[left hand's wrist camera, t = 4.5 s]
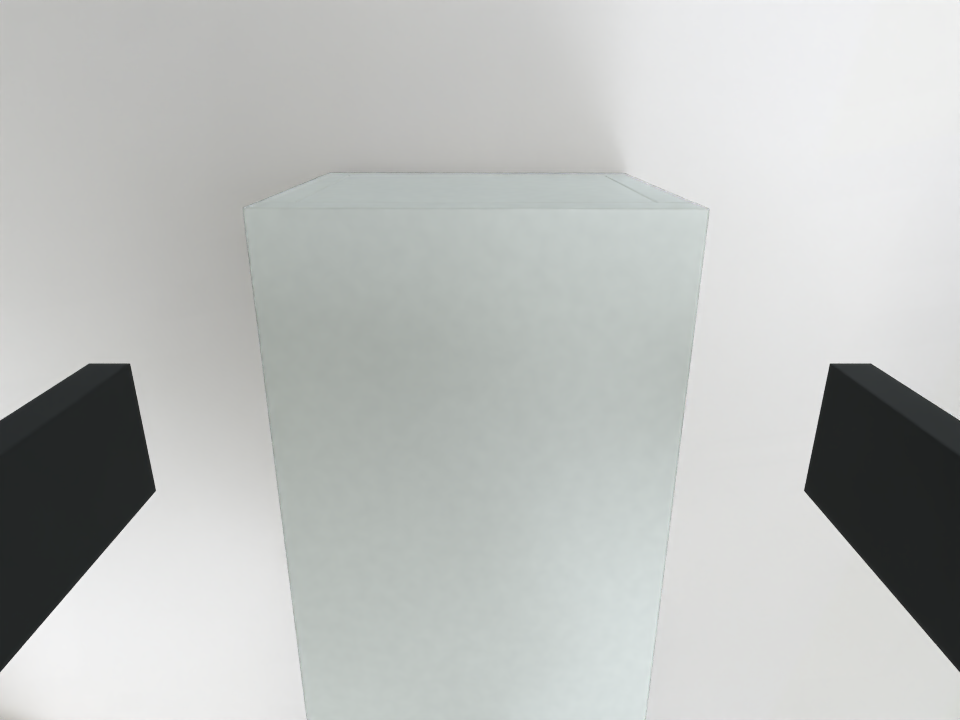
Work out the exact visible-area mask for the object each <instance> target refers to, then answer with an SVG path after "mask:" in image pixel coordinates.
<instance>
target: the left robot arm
mask: <svg viewBox="0 0 960 720" xmlns="http://www.w3.org/2000/svg"><path fill="white" fill-rule="evenodd" d="M155 491H156V489H155V484H154V479H153V474H152V469H151V464H150V459H149V454H148V450H147V445H146V440H145V435H144V430H143V425H142V420H141V415H140V410H139V405H138V400H137V396H136V391H135V386H134V381H133V376H132V371H131V366H130V364H88V365H86V366H85V367H83V368H82V369H80V370H78V371H77V372H75V373H74V374H72V375H71V376H69V377H68V378H66V379H64V380H63V381H61V382H60V383H58V384H57V385H55V386H53V387H52V388H50V389H49V390H47V391H46V392H44V393H43V394H41V395H39V396H38V397H36V398H35V399H33V400H32V401H30V402H28V403H27V404H25V405H24V406H22V407H21V408H19V409H18V410H16V411H14V412H13V413H11V414H10V415H8V416H7V417H5V418H4V419H2V420H0V672H1V671H2V669H3V668H4V667H5V666H6V665H7V664H8V662H9V661H10V660H11V659H12V658H13V657H14V655H15V654H16V653H17V652H18V651H19V650H20V648H21V647H22V646H23V645H24V644H25V643H26V641H27V640H28V639H29V638H30V637H31V636H32V634H33V633H34V632H35V631H36V630H37V629H38V627H39V626H40V625H41V624H42V623H43V622H44V620H45V619H46V618H47V617H48V616H49V615H50V613H51V612H52V611H53V610H54V609H55V608H56V606H57V605H58V604H59V603H60V602H61V601H62V599H63V598H64V597H65V596H66V595H67V594H68V592H69V591H70V590H71V589H72V588H73V587H74V586H75V584H76V583H77V582H78V581H79V580H80V579H81V577H82V576H83V575H84V574H85V573H86V572H87V570H88V569H89V568H90V567H91V566H92V565H93V563H94V562H95V561H96V560H97V559H98V558H99V556H100V555H101V554H102V553H103V552H104V551H105V549H106V548H107V547H108V546H109V545H110V544H111V542H112V541H113V540H114V539H115V538H116V537H117V535H118V534H119V533H120V532H121V531H122V530H123V528H124V527H125V526H126V525H127V524H128V523H129V521H130V520H131V519H132V518H133V517H134V516H135V514H136V513H137V512H138V511H139V510H140V509H141V507H142V506H143V505H144V504H145V503H146V502H147V500H148V499H149V498H150V497H151V496H152V495H153V493H154V492H155ZM804 491H805V492H806V493H807V495H808V496H809V497H810V498H811V499H812V500H813V502H814V503H815V504H816V505H817V506H818V507H819V509H820V510H821V511H822V512H823V513H824V514H825V516H826V517H827V518H828V519H829V520H830V521H831V523H832V524H833V525H834V526H835V527H836V528H837V530H838V531H839V532H840V533H841V534H842V535H843V537H844V538H845V539H846V540H847V541H848V542H849V544H850V545H851V546H852V547H853V548H854V549H855V551H856V552H857V553H858V554H859V555H860V556H861V558H862V559H863V560H864V561H865V562H866V563H867V565H868V566H869V567H870V568H871V569H872V570H873V572H874V573H875V574H876V575H877V576H878V577H879V579H880V580H881V581H882V582H883V583H884V584H885V586H886V587H887V588H888V589H889V590H890V591H891V592H892V594H893V595H894V596H895V597H896V598H897V599H898V601H899V602H900V603H901V604H902V605H903V606H904V608H905V609H906V610H907V611H908V612H909V613H910V615H911V616H912V617H913V618H914V619H915V620H916V622H917V623H918V624H919V625H920V626H921V627H922V629H923V630H924V631H925V632H926V633H927V634H928V636H929V637H930V638H931V639H932V640H933V641H934V643H935V644H936V645H937V646H938V647H939V648H940V650H941V651H942V652H943V653H944V654H945V655H946V657H947V658H948V659H949V660H950V661H951V662H952V664H953V665H954V666H955V667H956V668H957V669H958V671H959V672H960V420H958V419H956V418H955V417H953V416H952V415H950V414H949V413H947V412H946V411H944V410H942V409H941V408H939V407H938V406H936V405H935V404H933V403H932V402H930V401H928V400H927V399H925V398H924V397H922V396H921V395H919V394H917V393H916V392H914V391H913V390H911V389H910V388H908V387H907V386H905V385H903V384H902V383H900V382H899V381H897V380H896V379H894V378H892V377H891V376H889V375H888V374H886V373H885V372H883V371H882V370H880V369H878V368H877V367H875V366H874V365H872V364H830V366H829V371H828V376H827V381H826V386H825V391H824V396H823V400H822V405H821V410H820V415H819V420H818V425H817V430H816V435H815V440H814V445H813V450H812V454H811V459H810V464H809V469H808V474H807V479H806V484H805V489H804Z"/></svg>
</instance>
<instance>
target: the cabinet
mask: <svg viewBox="0 0 960 720" xmlns="http://www.w3.org/2000/svg"><path fill="white" fill-rule="evenodd" d="M243 215H244V223H245V231H246V239H247V247H248V255H249V263H250V271H251V279H252V287H253V295H254V303H255V311H256V318H257V326H258V334H259V342H260V350H261V358H262V366H263V374H264V382H265V390H266V398H267V406H268V414H269V422H270V430H271V438H272V446H273V454H274V462H275V470H276V477H277V485H278V493H279V501H280V509H281V517H282V525H283V533H284V541H285V549H286V557H287V565H288V573H289V581H290V589H291V597H292V605H293V613H294V621H295V629H296V637H297V644H298V652H299V660H300V668H301V676H302V684H303V692H304V700H305V708H306V716H307V720H646V712H647V704H648V697H649V689H650V681H651V673H652V665H653V657H654V649H655V641H656V633H657V625H658V617H659V609H660V601H661V593H662V585H663V577H664V569H665V561H666V553H667V545H668V537H669V529H670V521H671V513H672V505H673V497H674V489H675V481H676V473H677V465H678V457H679V449H680V441H681V433H682V425H683V417H684V409H685V401H686V393H687V385H688V377H689V369H690V361H691V353H692V345H693V337H694V329H695V321H696V313H697V305H698V297H699V289H700V281H701V274H702V266H703V258H704V250H705V242H706V234H707V226H708V218H709V208H707V207H704V206H702V205H700V204H697V203H694V202H691V201H689V200H687V199H684V198H682V197H680V196H677V195H675V194H673V193H670V192H668V191H665V190H663V189H661V188H658V187H656V186H654V185H651V184H649V183H647V182H644V181H642V180H640V179H637V178H635V177H633V176H630V175H628V174H626V173H328V174H326V175H323V176H320V177H318V178H315V179H313V180H310V181H308V182H305V183H303V184H300V185H298V186H296V187H293V188H291V189H288V190H286V191H283V192H281V193H278V194H276V195H273V196H271V197H269V198H266V199H264V200H261V201H259V202H256V203H253V204H251V205H248V206H246V207H244V208H243Z"/></svg>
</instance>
